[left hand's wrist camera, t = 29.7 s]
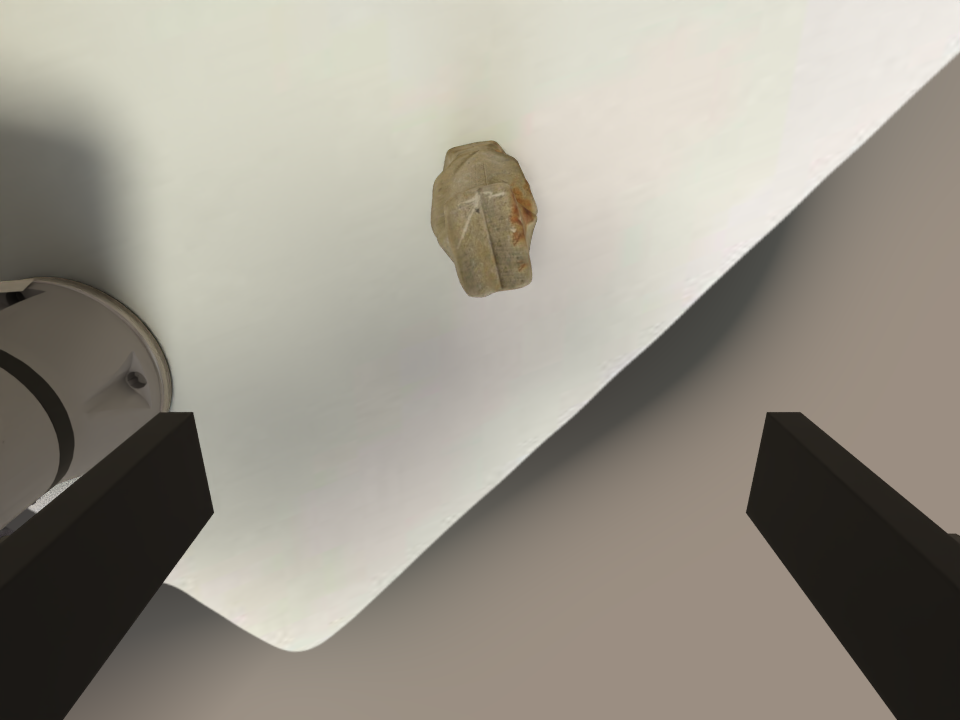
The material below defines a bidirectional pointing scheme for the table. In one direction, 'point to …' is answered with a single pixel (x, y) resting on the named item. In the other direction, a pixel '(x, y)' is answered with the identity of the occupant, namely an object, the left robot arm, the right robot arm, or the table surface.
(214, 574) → the table surface
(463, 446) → the table surface
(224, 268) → the table surface
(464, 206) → the sculpture
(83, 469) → the left robot arm
